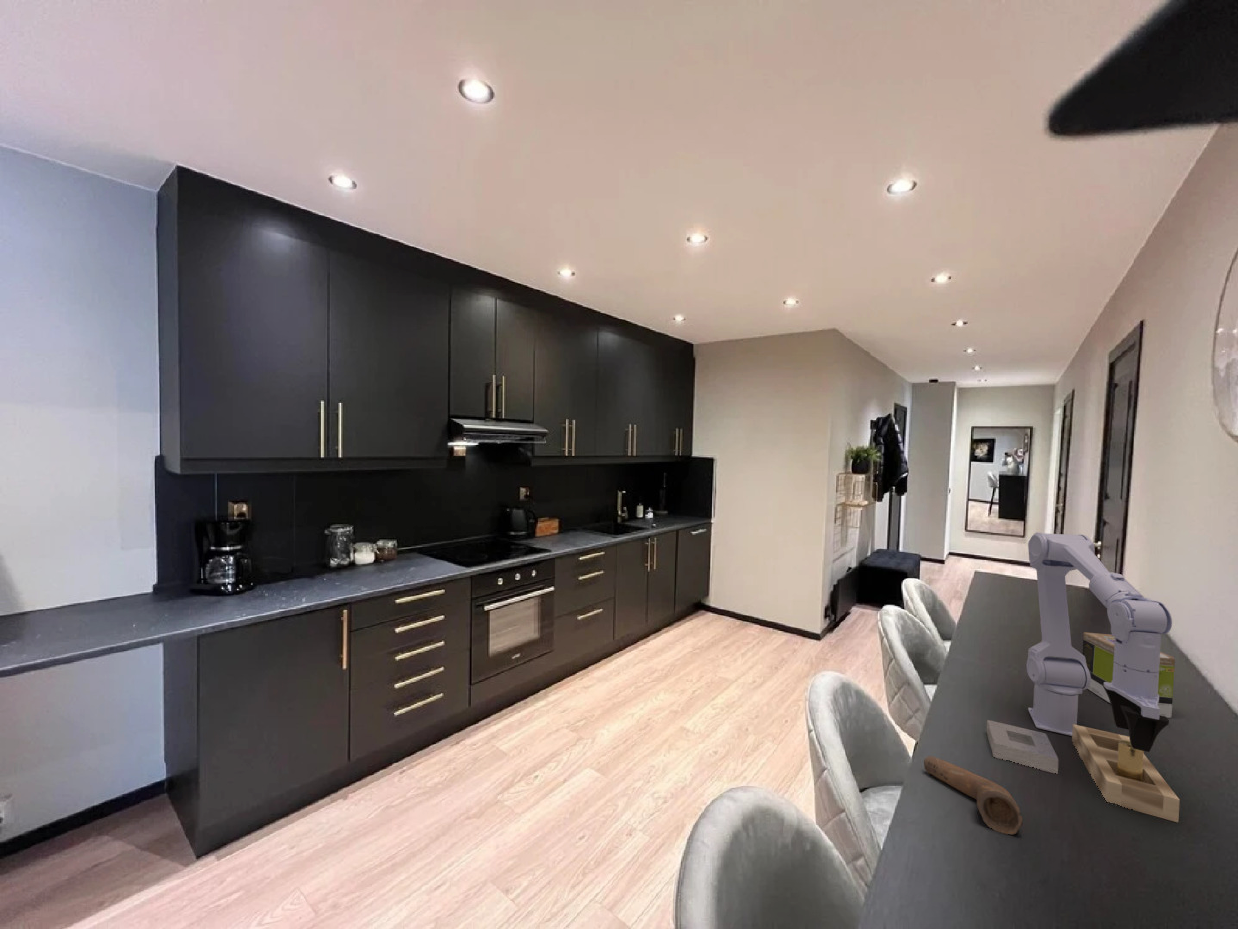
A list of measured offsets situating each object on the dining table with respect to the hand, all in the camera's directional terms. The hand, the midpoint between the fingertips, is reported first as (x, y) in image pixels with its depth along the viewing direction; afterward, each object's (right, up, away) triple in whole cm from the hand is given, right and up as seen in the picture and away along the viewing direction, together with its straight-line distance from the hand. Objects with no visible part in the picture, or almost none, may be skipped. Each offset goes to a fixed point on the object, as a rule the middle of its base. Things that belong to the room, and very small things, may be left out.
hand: (1131, 738), depth 90 cm
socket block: (-11, -10, +12) cm, 19 cm away
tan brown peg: (0, -10, 0) cm, 10 cm away
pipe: (-31, -11, -2) cm, 33 cm away
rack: (+2, -10, +5) cm, 12 cm away
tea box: (+34, -10, +34) cm, 49 cm away
